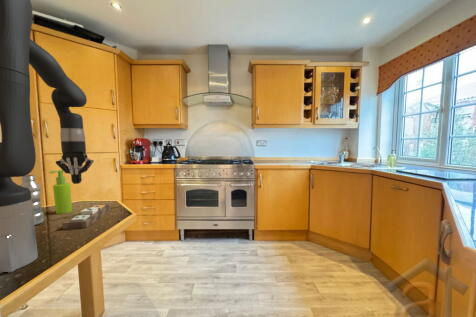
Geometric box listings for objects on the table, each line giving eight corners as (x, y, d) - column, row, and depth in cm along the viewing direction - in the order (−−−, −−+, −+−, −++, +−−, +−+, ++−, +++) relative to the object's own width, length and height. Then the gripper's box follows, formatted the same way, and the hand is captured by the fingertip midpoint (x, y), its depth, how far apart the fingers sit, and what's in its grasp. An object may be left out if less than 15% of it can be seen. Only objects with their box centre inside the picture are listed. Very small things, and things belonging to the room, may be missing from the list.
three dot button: (92, 217, 86) (92, 210, 85) (81, 218, 85) (80, 211, 85) (98, 213, 90) (97, 206, 90) (87, 214, 89) (86, 207, 89)
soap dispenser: (50, 214, 93) (45, 171, 91) (66, 209, 100) (62, 168, 98) (59, 215, 91) (54, 171, 90) (75, 210, 98) (71, 169, 96)
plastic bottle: (49, 221, 85) (44, 174, 83) (31, 228, 78) (25, 177, 76) (35, 221, 85) (30, 174, 83) (16, 228, 78) (10, 177, 77)
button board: (86, 227, 78) (86, 221, 78) (63, 229, 77) (62, 223, 76) (111, 209, 99) (110, 204, 98) (92, 210, 97) (92, 205, 97)
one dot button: (100, 214, 92) (100, 207, 92) (89, 215, 91) (89, 208, 91) (105, 210, 97) (104, 204, 96) (94, 211, 96) (94, 205, 96)
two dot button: (84, 226, 79) (83, 218, 79) (71, 227, 79) (70, 219, 78) (90, 221, 84) (89, 214, 84) (78, 222, 83) (77, 215, 83)
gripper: (46, 140, 75) (51, 186, 77) (86, 140, 77) (89, 184, 79) (61, 140, 83) (65, 182, 84) (96, 140, 85) (99, 180, 86)
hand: (77, 183), depth 82 cm, fingers closed
